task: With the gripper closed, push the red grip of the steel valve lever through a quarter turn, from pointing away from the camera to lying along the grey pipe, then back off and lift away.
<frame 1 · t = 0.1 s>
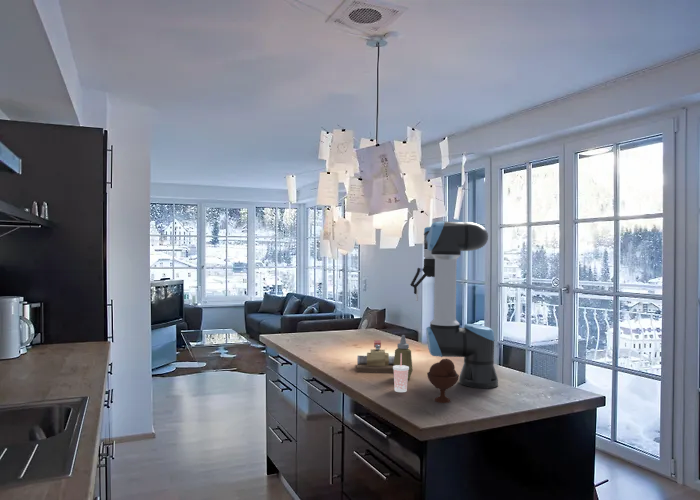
hand: (430, 301, 256), 28 cm above the counter, fingers open, 13 cm apart
valve lever: (377, 345, 235), point 9 cm above the counter, hinge at 0.0°
ice cream bowl: (442, 401, 182), on the counter
beverage cup: (400, 391, 194), on the counter
valve board: (377, 368, 230), on the counter
squeeze bottle: (402, 379, 212), on the counter
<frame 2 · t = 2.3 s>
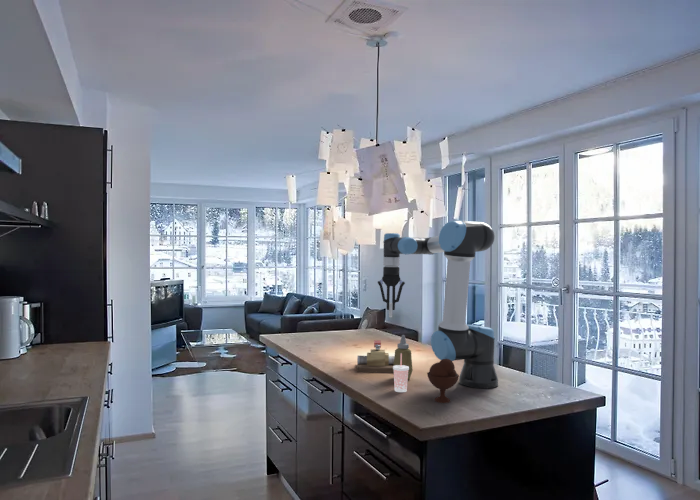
hand: (390, 317, 239), 22 cm above the counter, fingers closed
nothing on the counter moved.
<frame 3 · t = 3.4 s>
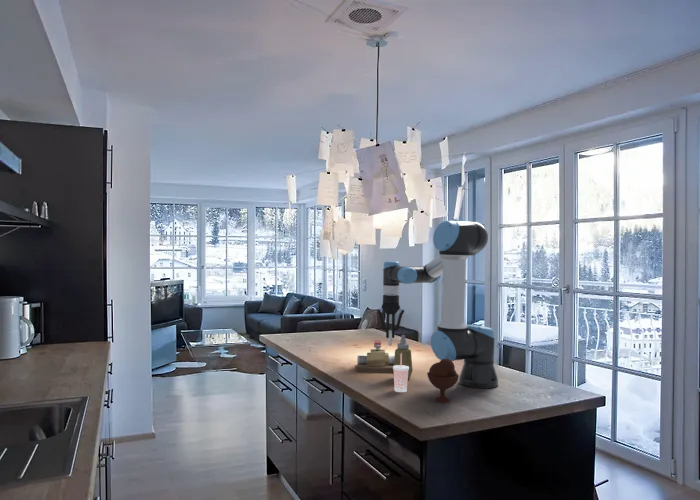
hand: (390, 344, 239), 9 cm above the counter, fingers closed
nothing on the counter moved.
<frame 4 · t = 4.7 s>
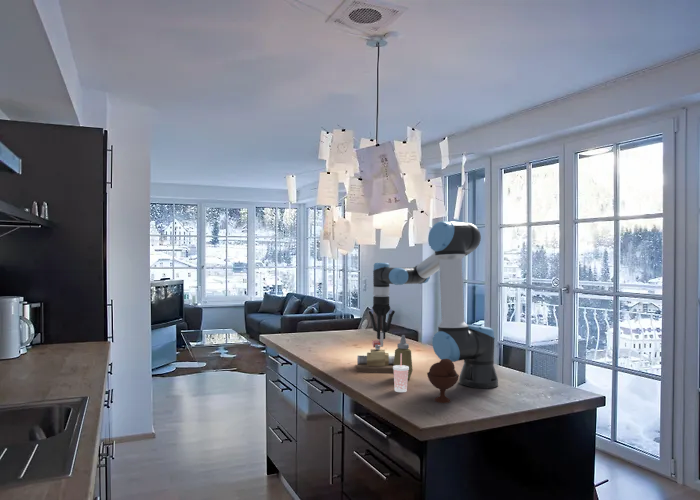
hand: (381, 346, 240), 8 cm above the counter, fingers closed
valve lever: (376, 345, 235), point 9 cm above the counter, hinge at 3.5°, touching gripper
everything else where it was.
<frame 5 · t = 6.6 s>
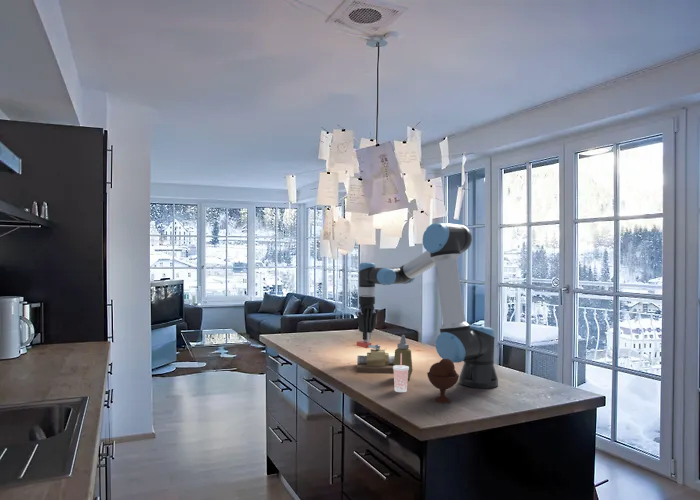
hand: (366, 346, 239), 8 cm above the counter, fingers closed
valve lever: (369, 345, 234), point 9 cm above the counter, hinge at 41.1°, touching gripper
everything else where it was.
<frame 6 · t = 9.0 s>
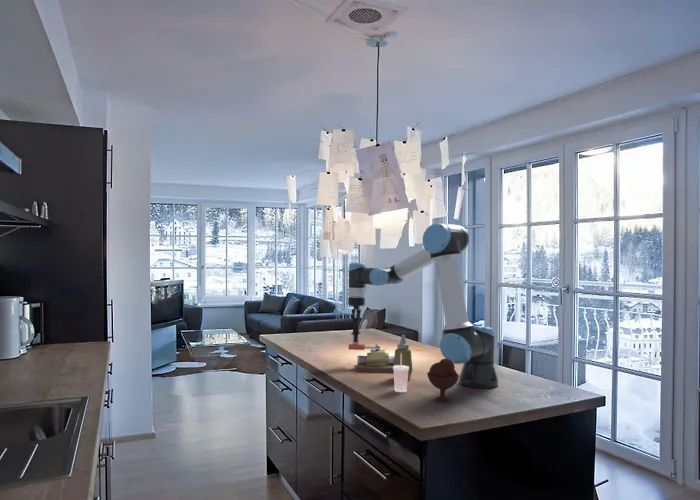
hand: (355, 348, 234), 8 cm above the counter, fingers closed
valve lever: (364, 347, 230), point 9 cm above the counter, hinge at 83.8°
everything else where it was.
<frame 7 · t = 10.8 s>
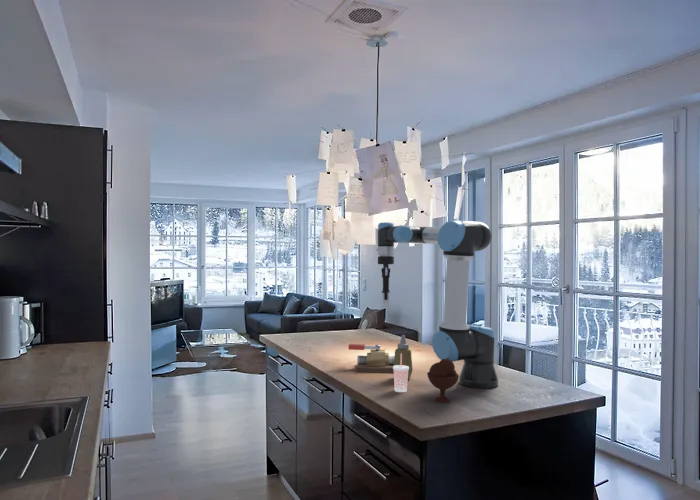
hand: (385, 306, 238), 27 cm above the counter, fingers closed
nothing on the counter moved.
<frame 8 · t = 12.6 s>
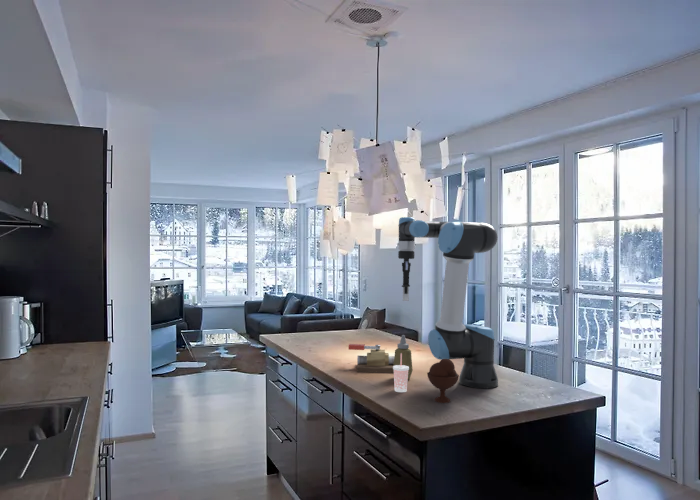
hand: (405, 300, 241), 29 cm above the counter, fingers closed
nothing on the counter moved.
at the end: valve lever at +84° (first picture: +0°); squeeze bottle moved 0.2 cm from its start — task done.
